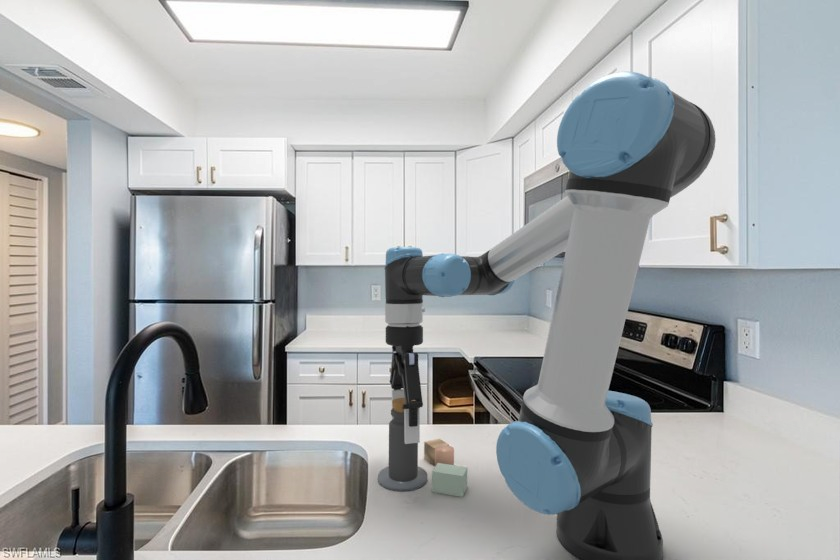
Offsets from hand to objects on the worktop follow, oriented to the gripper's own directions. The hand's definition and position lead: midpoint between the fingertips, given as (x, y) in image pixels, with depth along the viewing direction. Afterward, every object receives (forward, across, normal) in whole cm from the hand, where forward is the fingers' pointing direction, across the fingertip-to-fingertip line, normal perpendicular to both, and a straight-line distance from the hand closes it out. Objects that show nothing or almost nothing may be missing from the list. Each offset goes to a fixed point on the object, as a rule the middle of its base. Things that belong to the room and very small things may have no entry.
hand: (404, 430), depth 87 cm
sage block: (+10, -5, -8) cm, 14 cm away
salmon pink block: (+10, +2, -9) cm, 13 cm away
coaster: (+10, +1, 0) cm, 10 cm away
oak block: (+10, +8, -9) cm, 15 cm away
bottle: (+9, +1, 0) cm, 9 cm away
